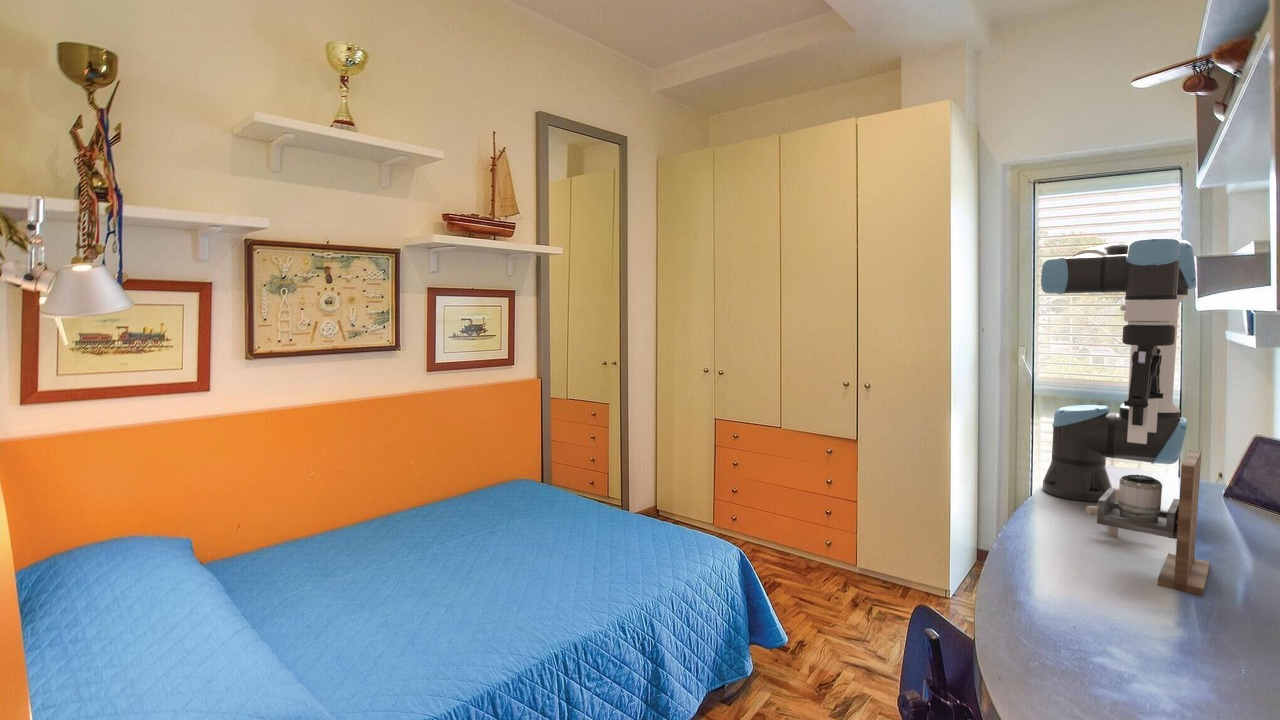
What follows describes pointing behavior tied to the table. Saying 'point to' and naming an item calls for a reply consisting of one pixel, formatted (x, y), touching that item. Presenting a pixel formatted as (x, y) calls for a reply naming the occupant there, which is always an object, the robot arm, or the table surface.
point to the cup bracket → (1170, 529)
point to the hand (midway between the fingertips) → (1142, 437)
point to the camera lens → (1140, 498)
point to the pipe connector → (1094, 511)
